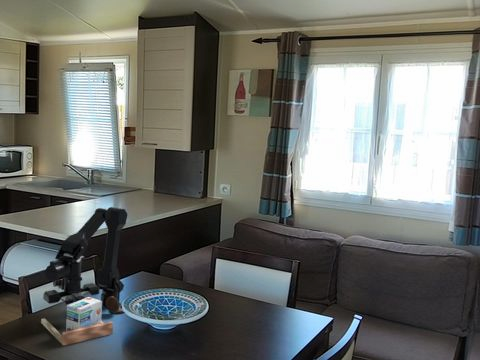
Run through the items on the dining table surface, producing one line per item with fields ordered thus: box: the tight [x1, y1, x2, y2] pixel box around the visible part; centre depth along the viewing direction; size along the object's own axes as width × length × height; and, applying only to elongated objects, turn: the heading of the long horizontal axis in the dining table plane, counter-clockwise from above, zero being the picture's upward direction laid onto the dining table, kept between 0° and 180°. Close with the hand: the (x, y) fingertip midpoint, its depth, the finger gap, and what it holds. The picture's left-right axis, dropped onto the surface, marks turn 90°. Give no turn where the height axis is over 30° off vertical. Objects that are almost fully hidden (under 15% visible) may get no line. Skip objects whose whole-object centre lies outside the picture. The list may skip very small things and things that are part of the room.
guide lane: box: [40, 317, 114, 346], centre depth 173 cm, size 17×22×4 cm
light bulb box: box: [65, 296, 103, 332], centre depth 170 cm, size 11×7×11 cm, turn 152°
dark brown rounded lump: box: [105, 296, 124, 315], centre depth 190 cm, size 8×8×7 cm
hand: (71, 315), depth 177 cm, fingers closed
